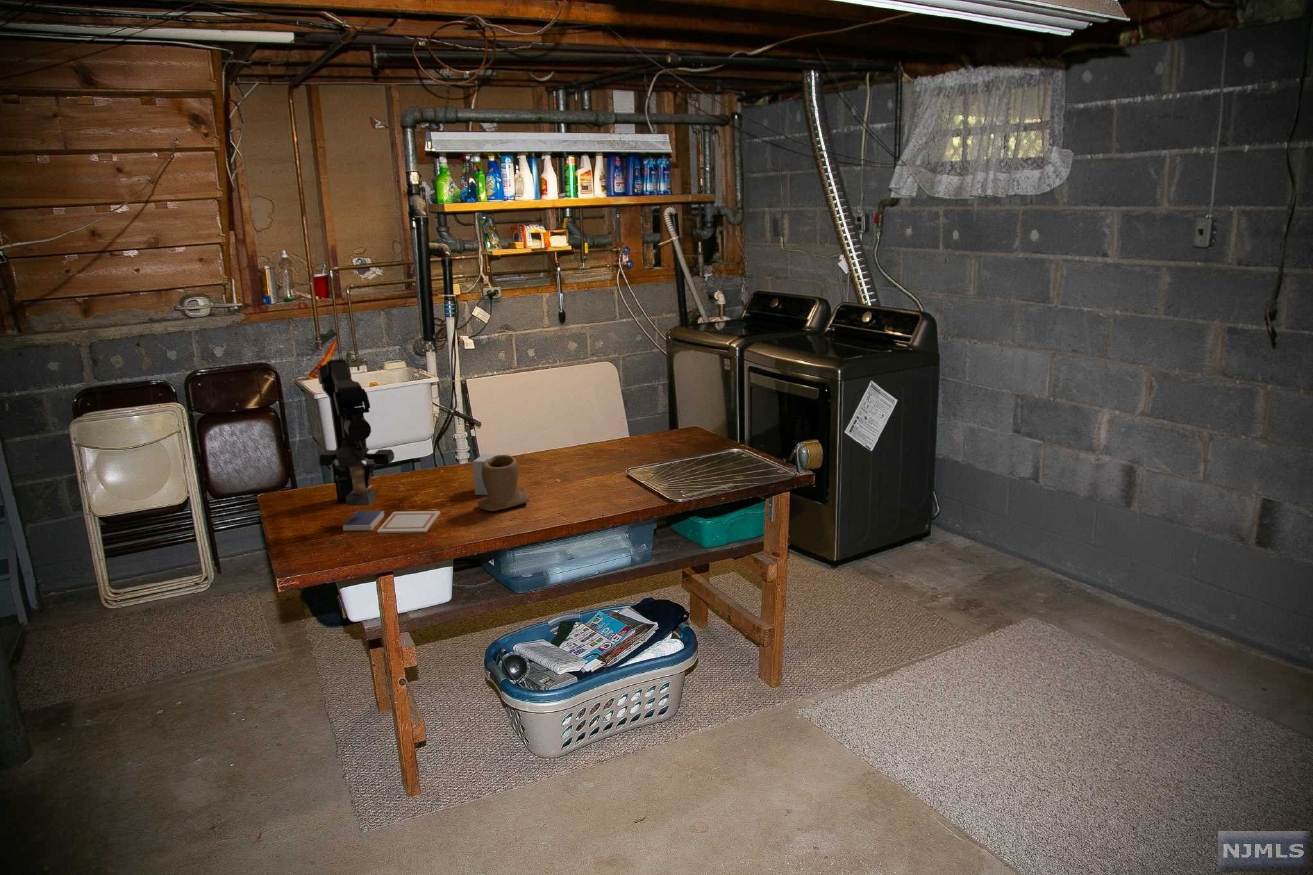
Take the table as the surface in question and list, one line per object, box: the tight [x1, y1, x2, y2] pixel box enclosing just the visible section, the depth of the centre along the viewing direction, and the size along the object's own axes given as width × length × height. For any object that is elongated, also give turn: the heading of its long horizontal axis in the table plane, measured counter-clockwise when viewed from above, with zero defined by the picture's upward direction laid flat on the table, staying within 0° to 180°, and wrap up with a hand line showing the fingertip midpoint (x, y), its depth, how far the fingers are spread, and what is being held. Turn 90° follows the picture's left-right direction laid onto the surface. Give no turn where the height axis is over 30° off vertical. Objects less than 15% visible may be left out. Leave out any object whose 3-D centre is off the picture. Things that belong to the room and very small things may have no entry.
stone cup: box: [477, 454, 531, 512], centre depth 257 cm, size 15×12×15 cm
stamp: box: [345, 461, 377, 507], centre depth 245 cm, size 6×6×12 cm
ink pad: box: [342, 510, 385, 532], centre depth 248 cm, size 8×11×2 cm
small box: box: [472, 453, 498, 496], centre depth 271 cm, size 8×6×10 cm
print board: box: [376, 510, 441, 534], centre depth 248 cm, size 13×15×1 cm
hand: (360, 487), depth 246 cm, fingers closed on stamp, 4 cm apart
